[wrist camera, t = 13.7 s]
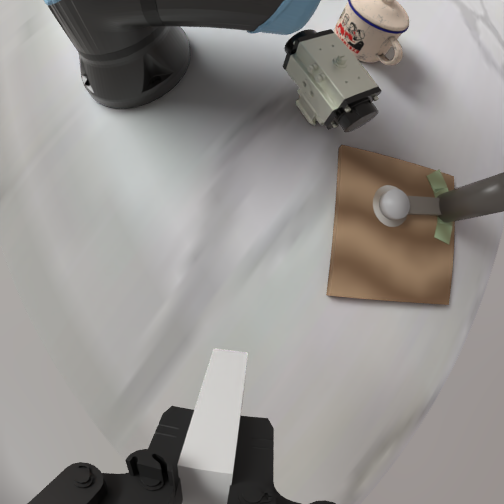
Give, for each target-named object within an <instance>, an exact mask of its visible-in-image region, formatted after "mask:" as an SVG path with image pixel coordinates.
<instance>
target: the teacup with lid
mask: <svg viewBox="0 0 504 504" xmlns="http://www.w3.org/2000/svg"><path fill="white" fill-rule="evenodd" d="M408 27H409V17H408V15H407V13H406V11H405V10H404V8H403V7H402V6H401V5H400V4H399V3H398V2H397V1H396V0H348V2H347V4H346V6H345V8H344V10H343V12H342V14H341V16H340V18H339V21H338V23H337V25H336V27H335V29H334V33H335V34H336V35H337V36H338V37H339V38H340V40H341V41H342V42H343V43H344V44H345V45H346V46H347V48H348V49H349V50H350V51H351V52H352V54H353V55H354V56H355V57H356V58H357V60H359V61H363V62H370V63H371V62H377V61H379V60H380V61H381V62H382V63H383V64H385V65H396V64H398V63H399V62H400V61H401V59H402V55H403V53H402V48H401V45H400V44H399V42H398V40H397V39H398V38H399V36H400V35H401V34H402V33H403V32H405V31H406V30H407V29H408ZM392 46H393V48H394V58H393V59H392V60H391V61H390V60H388V59H387V58H386V56H385V54H386V53H387V52H388V50H389V49H390V48H391V47H392Z"/></svg>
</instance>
